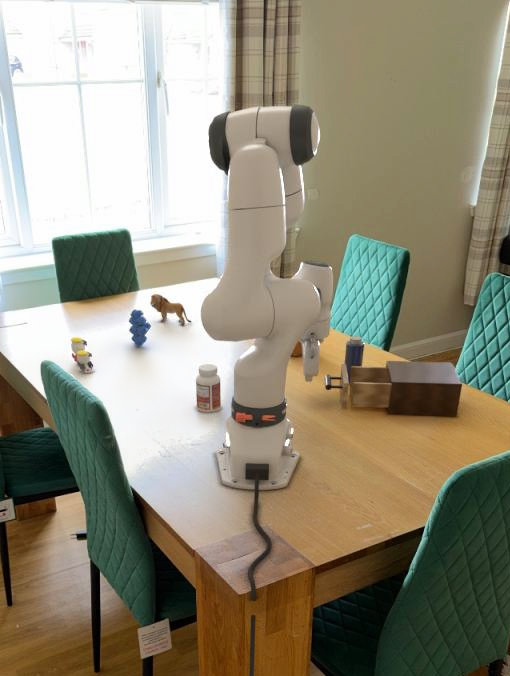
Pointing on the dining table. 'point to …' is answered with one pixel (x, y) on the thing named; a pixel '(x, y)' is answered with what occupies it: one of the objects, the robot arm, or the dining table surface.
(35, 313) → the dining table surface
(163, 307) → the lion figurine
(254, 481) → the robot arm
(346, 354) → the pepper mill
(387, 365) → the cabinet
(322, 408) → the dining table surface
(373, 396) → the drawer
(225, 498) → the dining table surface
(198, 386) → the pill bottle
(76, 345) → the toy figures
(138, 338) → the grapes
